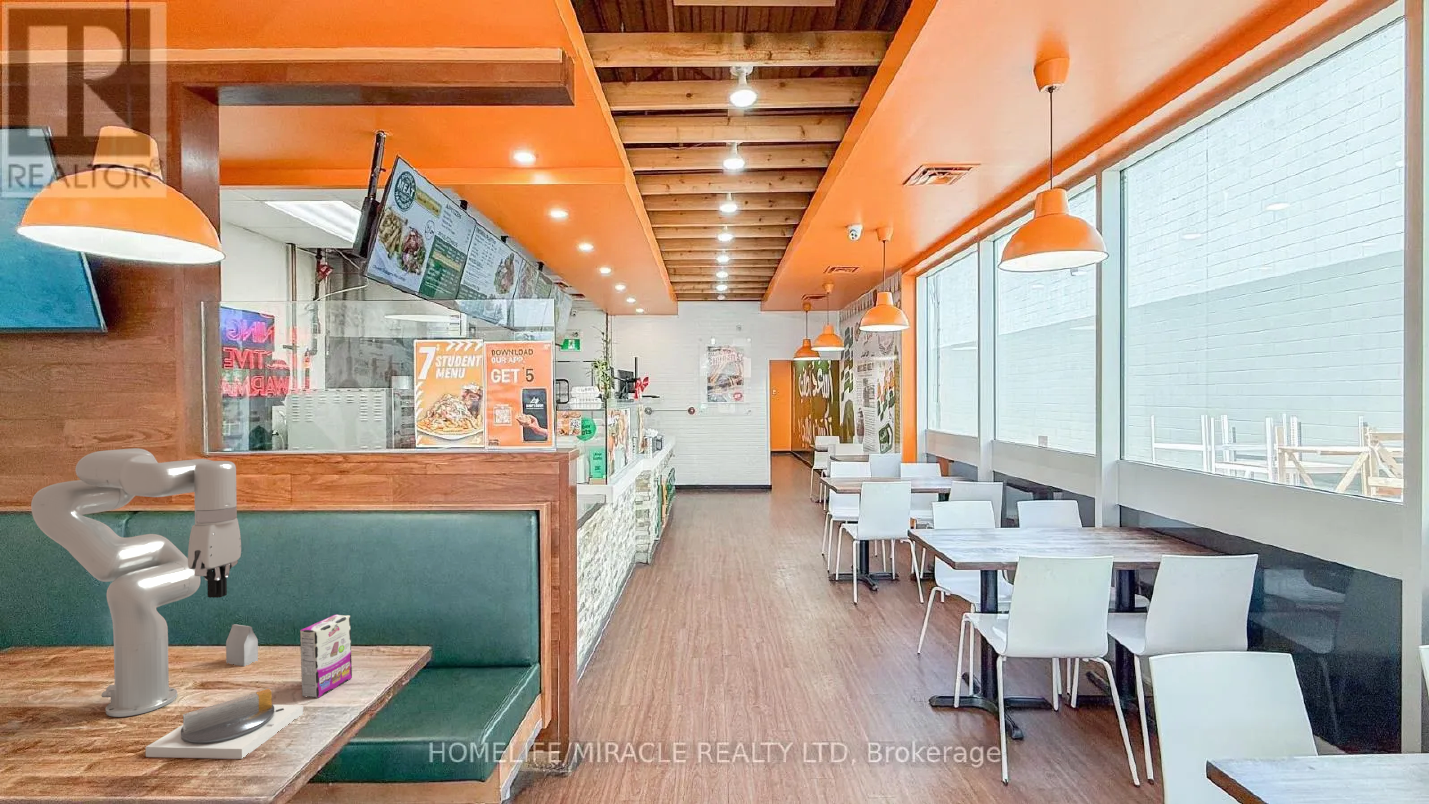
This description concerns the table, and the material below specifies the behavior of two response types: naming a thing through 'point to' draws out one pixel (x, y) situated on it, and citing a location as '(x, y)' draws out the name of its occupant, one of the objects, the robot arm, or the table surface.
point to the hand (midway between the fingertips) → (217, 596)
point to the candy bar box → (325, 655)
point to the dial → (228, 719)
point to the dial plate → (229, 748)
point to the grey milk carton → (241, 646)
